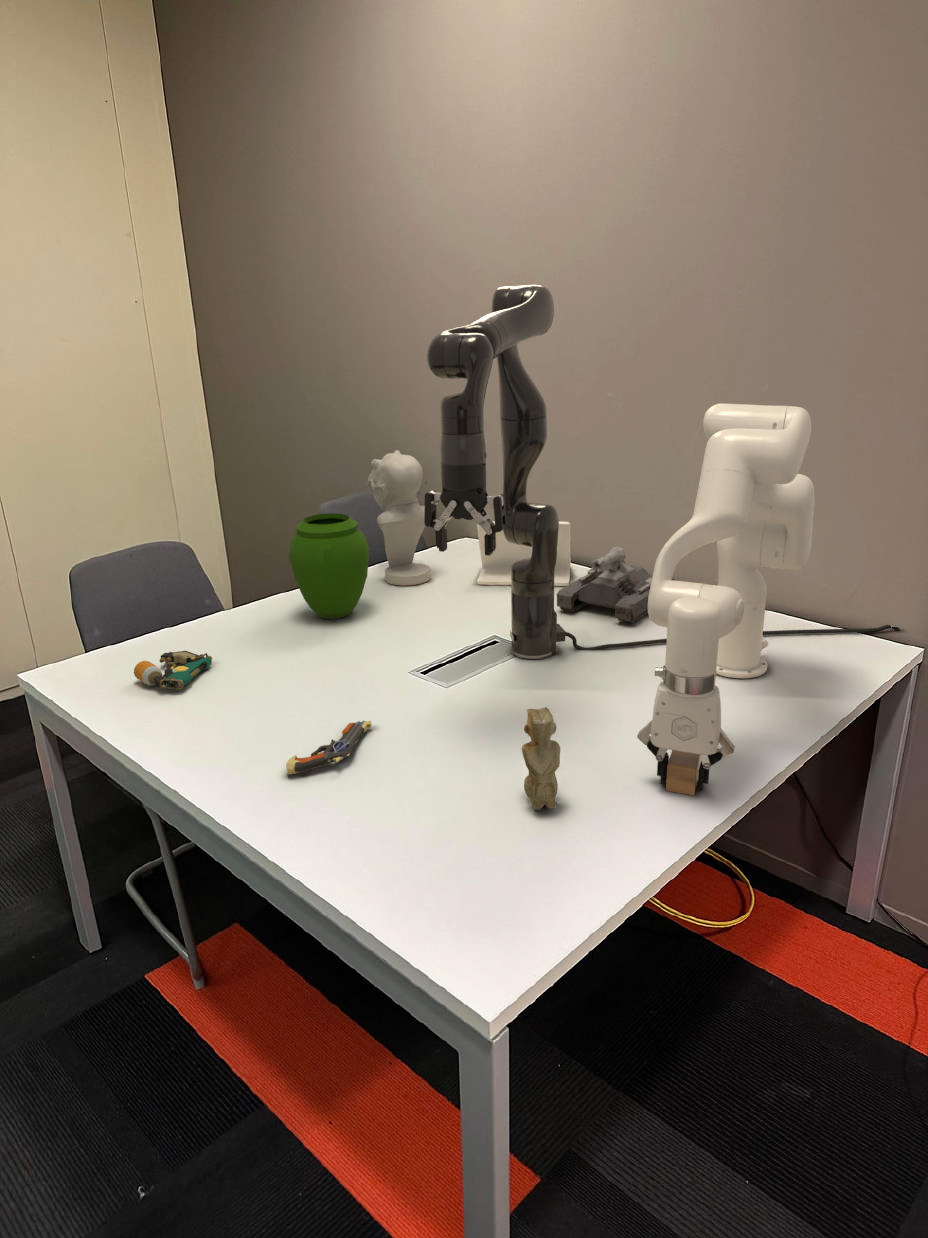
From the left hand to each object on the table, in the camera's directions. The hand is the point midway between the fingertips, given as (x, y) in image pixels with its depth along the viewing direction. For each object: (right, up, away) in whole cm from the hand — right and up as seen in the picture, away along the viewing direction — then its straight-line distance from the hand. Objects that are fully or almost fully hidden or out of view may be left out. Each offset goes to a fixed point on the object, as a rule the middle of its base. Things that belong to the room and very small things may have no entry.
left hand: (465, 552), depth 148 cm
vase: (-33, -10, +66) cm, 74 cm away
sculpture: (+12, -40, -16) cm, 45 cm away
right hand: (+34, -37, -13) cm, 52 cm away
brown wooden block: (+34, -38, -13) cm, 53 cm away
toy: (+38, -8, +66) cm, 77 cm away
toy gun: (-24, -35, +1) cm, 42 cm away
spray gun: (-61, -24, +33) cm, 73 cm away
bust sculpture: (-19, 0, +93) cm, 95 cm away
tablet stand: (+17, +1, +91) cm, 92 cm away
